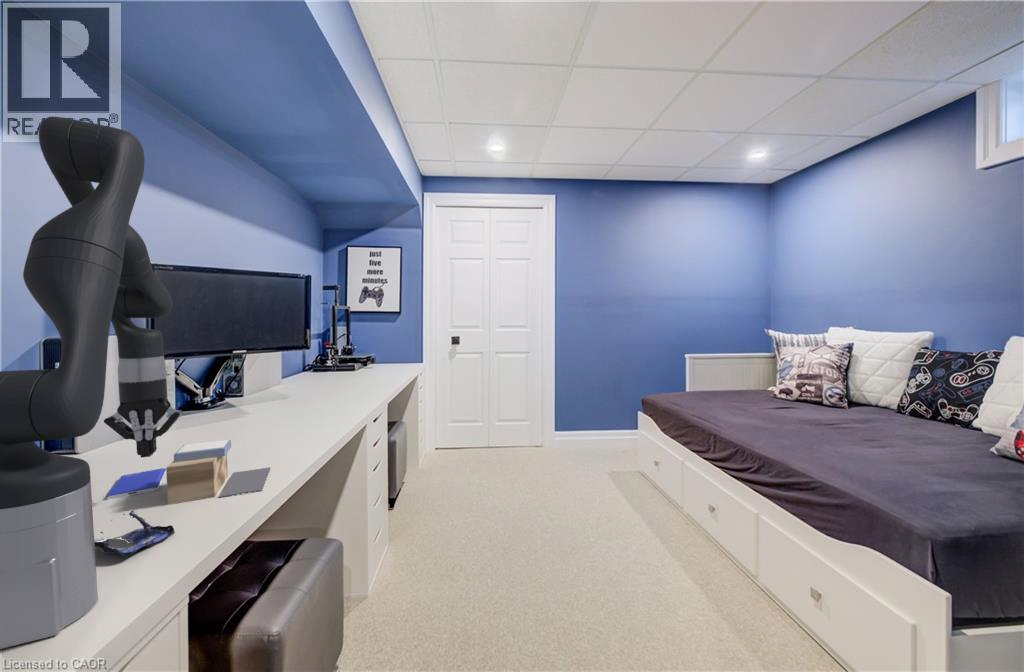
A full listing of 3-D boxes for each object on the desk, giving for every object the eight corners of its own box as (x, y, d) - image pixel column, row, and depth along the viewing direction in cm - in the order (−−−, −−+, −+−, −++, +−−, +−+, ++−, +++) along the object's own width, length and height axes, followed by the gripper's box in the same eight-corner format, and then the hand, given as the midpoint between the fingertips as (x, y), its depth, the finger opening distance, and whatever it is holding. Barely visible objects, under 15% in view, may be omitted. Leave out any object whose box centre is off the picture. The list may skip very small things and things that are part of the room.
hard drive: (120, 475, 93) (106, 495, 83) (165, 467, 98) (157, 485, 88) (121, 481, 93) (106, 502, 83) (166, 473, 98) (157, 492, 88)
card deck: (224, 456, 87) (224, 447, 87) (174, 462, 83) (173, 453, 83) (231, 447, 93) (230, 439, 93) (184, 452, 89) (183, 444, 89)
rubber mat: (262, 490, 87) (262, 489, 87) (219, 497, 84) (219, 496, 84) (270, 468, 100) (270, 467, 100) (233, 473, 97) (233, 472, 97)
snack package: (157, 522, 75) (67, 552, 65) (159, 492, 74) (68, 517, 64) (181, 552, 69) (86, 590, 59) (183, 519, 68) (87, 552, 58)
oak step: (214, 496, 84) (213, 461, 84) (168, 504, 81) (166, 467, 80) (227, 476, 95) (226, 444, 95) (187, 481, 92) (185, 449, 91)
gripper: (91, 383, 76) (96, 467, 78) (175, 378, 82) (179, 457, 83) (110, 377, 83) (115, 454, 84) (187, 373, 89) (190, 446, 90)
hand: (147, 455), depth 84 cm, fingers closed
